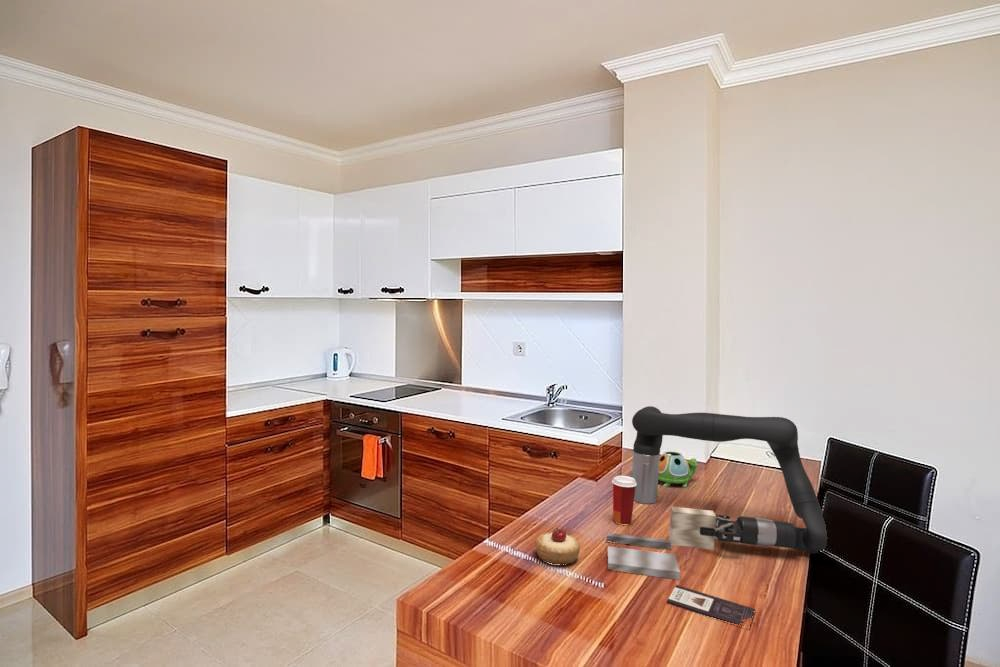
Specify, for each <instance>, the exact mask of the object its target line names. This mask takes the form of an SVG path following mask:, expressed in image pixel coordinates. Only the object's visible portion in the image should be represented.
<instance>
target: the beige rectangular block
mask: <svg viewBox="0 0 1000 667" xmlns="http://www.w3.org/2000/svg"><path fill="white" fill-rule="evenodd" d="M715 514H716V513H715V512H714V510H709V509H708V510H707V509H699V508H690V507H689V508H688V507H678V506H670V517H669V518H670V519H669V534H668V535H669V536H668V540H670V541H671V546H680V547H689V548H695V549H696V548H697V549H706V550H715V540H716V538H714V537H713V536H705V535H700V527H709V528H714V530H715V526H716V515H715Z"/></svg>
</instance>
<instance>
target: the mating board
mask: <svg viewBox="0 0 1000 667" xmlns="http://www.w3.org/2000/svg"><path fill="white" fill-rule="evenodd" d="M607 541H611V542H617V543H623V544H622V545H625V544H631V545H630V546H633V545H637V546H636V547H642V546H644V547H645V548H652V549H659V550H669V551H671V550H672V545H671V541H670V540H669V539H665V538H656V537H646V536H645V537H644V536H636V535H627V534H620V533H613V532H607V533H606V542H607ZM606 554H607V555H606V557H607V556H608V559H607V570H608V569H611V570H618V571H624V572H630V573H629V574H631V573H636V574H635V575H639V574H643V575H642V576H647V575H648V576H647V577H656V578H663V579H664V578H665V579H672V580H673V579H674V580H679V581H680V579H681V578H680V577H681V571H680V567H679V565H678V564H679V563H678V560H677V557H676V554H675V553H668V552H657V551H650V550H641V549H635V548H634V549H632V548H625V547H618V546H617V547H615V546H609V545H608V546H607V552H606Z"/></svg>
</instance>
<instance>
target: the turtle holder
mask: <svg viewBox="0 0 1000 667" xmlns="http://www.w3.org/2000/svg"><path fill="white" fill-rule="evenodd" d="M697 468H699V463H698V461H697V459H696V458H690V459H689V460H688V461H687V459H686V458H685V456H683V454H682V453H680V452H678V451H671V450H669V451H663V453H662V454H660V460H659V476H658V481H660V482H664V484H663V485H662V487H664V488H667V487H670V486H671V484H681V485H682V486H681V487H682V488H683V489H684V488H687V486H688V482H689V481H690V479H692V477H693V476H694V474H695V473H696V469H697Z"/></svg>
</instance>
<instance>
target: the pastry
mask: <svg viewBox="0 0 1000 667" xmlns="http://www.w3.org/2000/svg"><path fill="white" fill-rule="evenodd" d="M580 548H581V545H580V542H579V540H578V539H576V536H572V535H571V534H567V532H566V530H564V529H560V528H558V527H555V528H553V529H552V530H551V531H550V532H548V531H547V532H545V533H541V534H540V535H538V536H537V537H536V540H535V550H536V553H537V555H538V558H541V559H542V560H544V561H546V562H549V563H552V564H560V565H563V564H564V565H565V564H570V563H572V562H573V563H574V562H575V561H576V560H577V558H578V557H579V554H580V550H581V549H580ZM541 559H540V560H541ZM542 560H541V561H542ZM573 563H572V564H573ZM570 565H571V564H570Z"/></svg>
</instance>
